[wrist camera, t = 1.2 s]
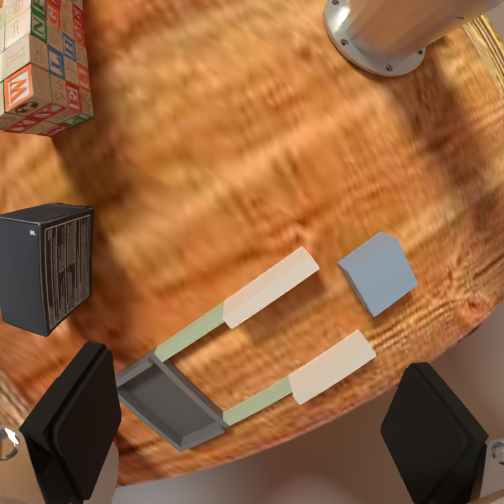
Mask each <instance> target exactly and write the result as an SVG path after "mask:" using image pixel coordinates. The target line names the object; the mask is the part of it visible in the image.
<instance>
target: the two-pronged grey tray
mask: <svg viewBox="0 0 504 504" xmlns="http://www.w3.org/2000/svg"><path fill="white" fill-rule="evenodd" d="M318 269H320V268H319V267H318V265H317V264H316V262H315V261H314V259H313V258H312V256H311V255H310V254H309V253H308V252H307V251H306V250H305V249H304V247H303V246H301V247H300V248H298V249H297V250H295V251H294V252H293V253H291V254H290V255H288V256H287V257H286V258H284V259H283V260H281V261H280V262H279V263H277V264H276V265H274V266H273V267H272V268H270V269H269V270H267V271H266V272H264V273H263V274H262V275H260V276H259V277H257V278H256V279H255V280H253V281H252V282H250V283H249V284H247V285H246V286H245V287H243V288H242V289H240V290H239V291H237V292H236V293H235V294H233V295H232V296H230V297H229V298H227V299H226V300H225V301H223V302H222V303H220V304H219V305H217V306H216V307H214V308H213V309H212V310H210V311H209V312H207V313H206V314H204V315H203V316H201V317H200V318H198V319H197V320H196V321H194V322H193V323H191V324H190V325H188V326H187V327H185V328H184V329H182V330H181V331H179V332H178V333H176V334H175V335H173V336H172V337H171V338H169V339H168V340H166V341H165V342H163V343H162V344H160V345H159V346H157V347H156V348H154V349H153V350H151V351H150V352H148V353H147V354H145V355H144V356H142V357H141V358H139V359H138V360H136V361H135V362H133V363H132V364H130V365H129V366H127V367H126V368H124V369H123V370H121V371H120V372H118V373H117V374H115V379H116V386H117V392H118V397H119V400H120V401H121V402H122V403H123V404H124V405H125V406H126V407H127V408H128V409H129V410H130V411H132V412H133V413H134V414H135V415H136V416H137V417H138V418H139V419H141V420H142V421H143V422H144V423H145V424H146V425H148V426H149V427H150V428H151V429H152V430H154V431H155V432H156V433H157V434H158V435H160V436H161V437H162V438H163V439H165V440H166V441H167V442H168V443H170V444H171V445H172V446H173V447H175V448H176V449H177V450H179V451H180V452H182V451H184V450H187V449H189V448H191V447H194V446H196V445H198V444H201V443H203V442H205V441H207V440H209V439H212V438H214V437H216V436H218V435H220V434H222V433H224V432H225V428H226V427H228V426H230V425H232V424H234V423H236V422H238V421H240V420H242V419H244V418H246V417H248V416H250V415H252V414H254V413H256V412H258V411H259V410H261V409H263V408H265V407H267V406H269V405H270V404H272V403H274V402H276V401H278V400H279V399H281V398H283V397H285V396H286V395H288V394H290V393H291V392H292V393H293V397H294V399H295V400H296V401H297V402H298V403H299V404H300V405H301V404H303V403H304V402H306V401H308V400H309V399H311V398H313V397H314V396H316V395H318V394H319V393H321V392H323V391H324V390H326V389H328V388H329V387H331V386H332V385H334V384H335V383H337V382H339V381H340V380H342V379H343V378H345V377H346V376H348V375H349V374H351V373H352V372H354V371H355V370H357V369H358V368H360V367H361V366H363V365H364V364H366V363H367V362H368V361H370V360H371V359H373V358H374V357H376V356H377V355H376V354H375V352H374V351H373V349H372V347H371V346H370V345H369V343H368V342H367V341H366V339H365V338H364V337H363V335H362V334H361V332H360V331H359V330H358V329H357V330H356V331H354V332H353V333H352V334H350V335H349V336H347V337H346V338H344V339H343V340H342V341H340V342H339V343H337V344H336V345H334V346H333V347H331V348H330V349H328V350H327V351H325V352H324V353H322V354H321V355H319V356H318V357H316V358H315V359H313V360H312V361H310V362H308V363H307V364H305V365H304V366H302V367H301V368H299V369H297V370H296V371H294V372H292V373H291V374H289V375H288V376H286V377H284V378H283V379H281V380H279V381H278V382H276V383H274V384H273V385H271V386H269V387H267V388H266V389H264V390H262V391H260V392H259V393H257V394H255V395H253V396H252V397H250V398H248V399H246V400H244V401H243V402H241V403H239V404H237V405H235V406H233V407H231V408H230V409H228V410H226V411H224V412H223V411H222V410H221V409H220V408H218V407H217V406H216V405H215V404H214V403H213V402H212V401H211V400H210V399H209V398H208V397H207V396H206V395H204V394H203V393H202V392H201V391H200V390H199V389H198V388H197V387H196V386H195V385H194V384H193V383H192V382H191V381H190V380H189V379H188V378H187V377H186V376H185V375H184V374H183V373H182V372H181V371H180V370H179V369H178V368H177V367H176V366H175V365H174V364H173V363H172V362H171V361H170V360H169V359H168V358H170V357H171V356H173V355H174V354H176V353H177V352H179V351H181V350H182V349H184V348H185V347H187V346H188V345H190V344H191V343H193V342H194V341H196V340H197V339H199V338H201V337H202V336H204V335H205V334H207V333H208V332H210V331H211V330H213V329H214V328H216V327H217V326H219V325H220V324H222V323H223V322H226V324H227V325H228V326H229V327H230V328H231V329H233V328H234V327H236V326H237V325H239V324H240V323H242V322H243V321H245V320H246V319H248V318H249V317H251V316H252V315H254V314H255V313H257V312H258V311H260V310H261V309H263V308H264V307H266V306H267V305H268V304H270V303H271V302H273V301H274V300H276V299H277V298H279V297H280V296H282V295H283V294H284V293H286V292H287V291H289V290H290V289H292V288H293V287H294V286H296V285H297V284H299V283H300V282H302V281H303V280H304V279H306V278H307V277H309V276H310V275H311V274H313V273H314V272H316V271H317V270H318Z"/></svg>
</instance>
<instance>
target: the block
mask: <svg viewBox="0 0 504 504" xmlns="http://www.w3.org/2000/svg"><path fill="white" fill-rule="evenodd" d="M337 263H338V265H339V267H340V268H341V270H342V272H343V273H344V275H345V277H346V278H347V280H348V282H349V283H350V285H351V287H352V288H353V290H354V292H355V293H356V295H357V297H358V299H359V300H360V302H361V304H362V305H363V306H364V307H365V308H366V309H367V310H368V311H369V312H370V314H371V315H372V316H373V317H375V316H377V315H378V314H379V313H381V312H382V311H384V310H385V309H386V308H388V307H389V306H390V305H392V304H393V303H394V302H396V301H397V300H398V299H400V298H401V297H402V296H404V295H405V294H406V293H408V292H409V291H410V290H411V289H413V288H414V287H415V286H416V285H418V283H417V280H416V278H415V276H414V274H413V272H412V269H411V267H410V265H409V263H408V261H407V259H406V257H405V255H404V252H403V250H402V248H401V246H400V244H399V242H398V240H397V238H395V237H393V236H391V235H388V234H386V233H383V232H381V231H380V232H379V233H378V234H376V235H375V236H374V237H372V238H371V239H369V240H368V241H367V242H365V243H364V244H362V245H361V246H360V247H358V248H357V249H355V250H354V251H353V252H351V253H350V254H348V255H347V256H346V257H344V258H343V259H341V260H340V261H338V262H337Z"/></svg>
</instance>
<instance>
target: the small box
mask: <svg viewBox="0 0 504 504" xmlns="http://www.w3.org/2000/svg"><path fill="white" fill-rule="evenodd" d="M93 211H94V209H93V208H92V207H91V206H90V207H89V206H85V207H83V206H78V205H76V206H75V205H69V204H63V203H49V204H44V205H40V206H35V207H31V208H26V209H22V210H18V211H14V212H9V213H5V214H2V215H0V309H1V315H2V321H3V322H5V323H7V324H10V325H12V326H15V327H18V328H21V329H23V330H26V331H29V332H32V333H35V334H38V335H41V336H44V337H47V336H49V335H50V334H51V332H52V331H53V330H54V329H55V328H56V327H57V326H58V325H59V324H60V323H61V322H62V321H63V320H64V319H66V318H67V317H68V316H69V315H70V314H71V313H72V312H73V311H75V310H76V309H77V308H78V307H79V306H80V305H81V304H82V303H84V302H85V301H86V300H87V299H88V298H90V297H91V256H92V230H93Z"/></svg>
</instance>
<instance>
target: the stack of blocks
mask: <svg viewBox="0 0 504 504" xmlns="http://www.w3.org/2000/svg"><path fill="white" fill-rule="evenodd" d="M82 11H83V0H4V4H3V7H2V8H1V9H0V130H3V132H11V133H26V134H37V135H41V136H48V137H51V136H53V135H55V134H57V133H60V132H62V131H64V130H66V129H68V128H70V127H72V126H74V125H76V124H78V123H81V122H83V121H85V120H88V119H90V118H93V117H94V113H93V106H92V99H91V87H90V80H89V71H88V61H87V51H86V48H85V41H84V30H83V16H82Z"/></svg>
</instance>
